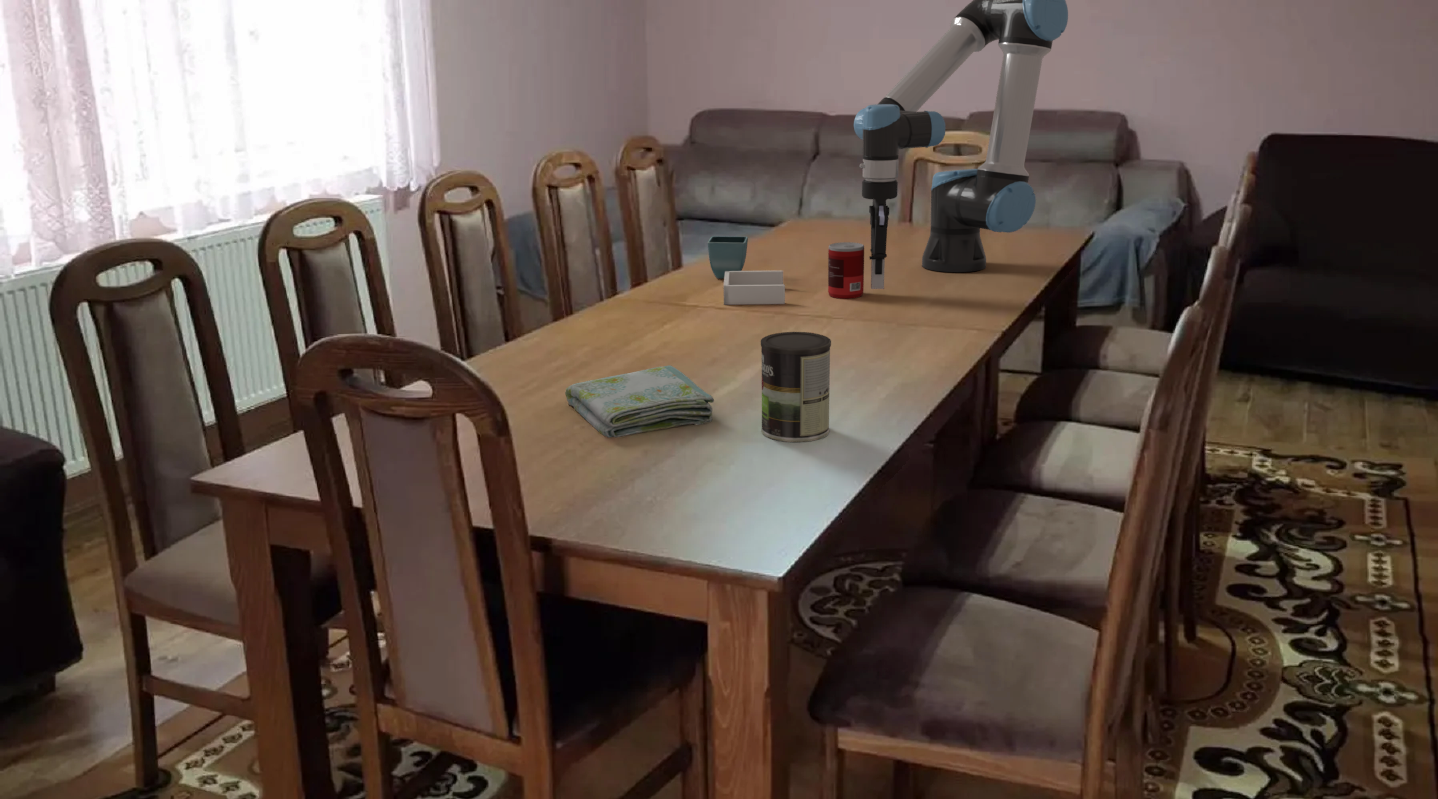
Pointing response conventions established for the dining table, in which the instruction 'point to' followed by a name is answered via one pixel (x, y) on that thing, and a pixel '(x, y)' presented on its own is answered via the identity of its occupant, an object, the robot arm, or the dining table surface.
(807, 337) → the coffee can
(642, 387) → the towel
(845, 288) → the canned food
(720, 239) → the flower pot
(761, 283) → the white open tray
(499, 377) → the dining table surface
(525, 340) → the dining table surface
